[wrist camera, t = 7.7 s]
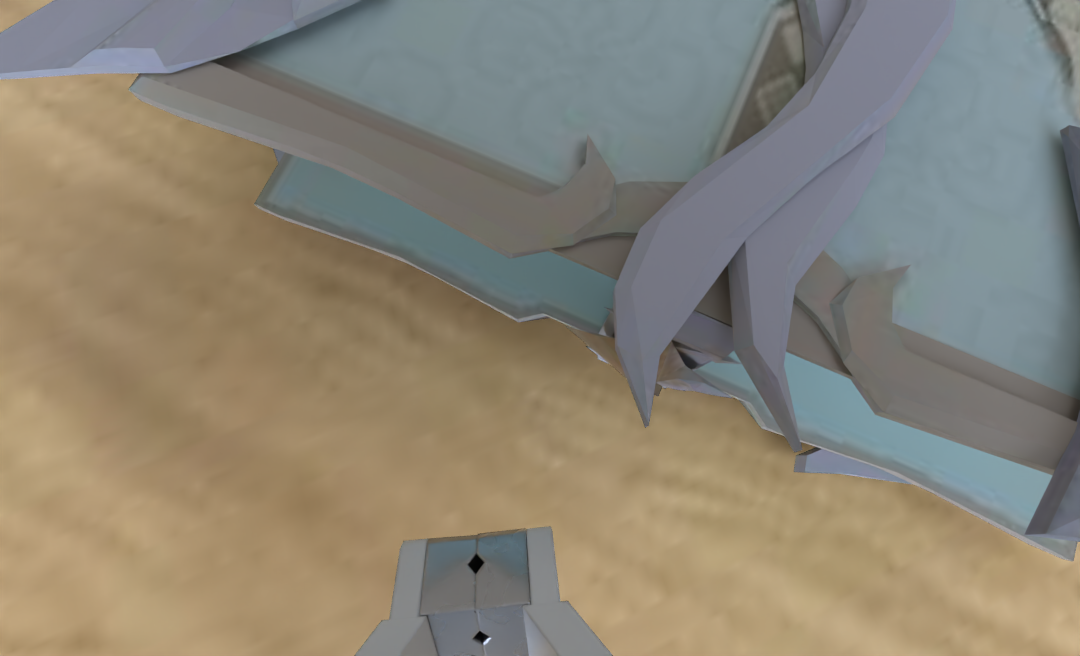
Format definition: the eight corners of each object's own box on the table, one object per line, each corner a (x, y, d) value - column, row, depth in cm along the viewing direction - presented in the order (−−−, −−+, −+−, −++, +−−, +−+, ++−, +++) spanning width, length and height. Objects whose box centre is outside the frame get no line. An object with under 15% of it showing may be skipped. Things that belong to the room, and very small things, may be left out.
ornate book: (1168, 35, 22) (443, -250, 23) (1674, -286, 12) (395, -740, 13) (1034, 637, 17) (134, 236, 18) (1689, 874, 7) (-274, 8, 9)
